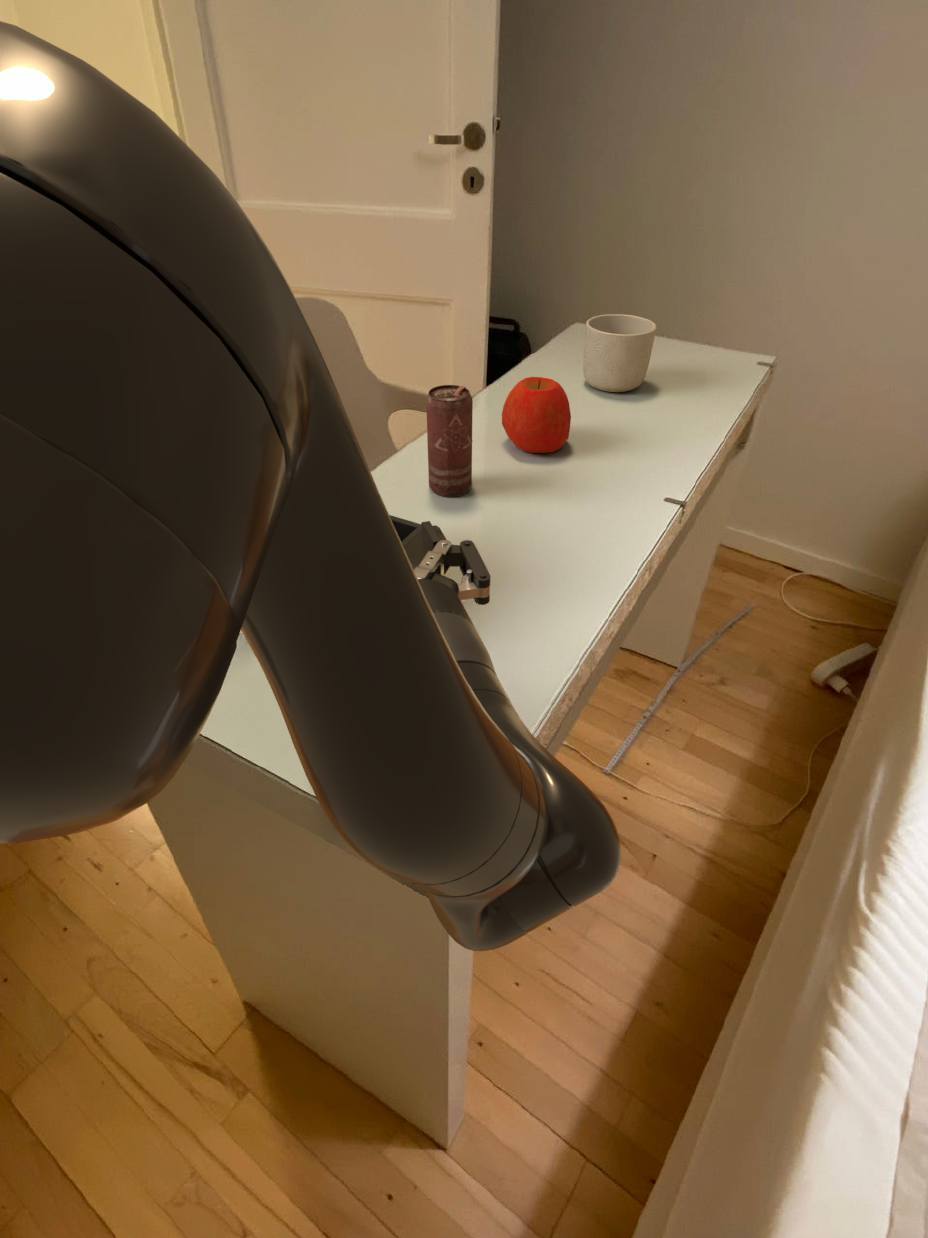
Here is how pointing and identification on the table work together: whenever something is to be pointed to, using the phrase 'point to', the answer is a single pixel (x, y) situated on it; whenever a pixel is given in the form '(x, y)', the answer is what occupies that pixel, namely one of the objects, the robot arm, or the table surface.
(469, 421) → the can
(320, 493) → the robot arm
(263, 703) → the table surface
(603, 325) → the planter
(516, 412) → the apple
